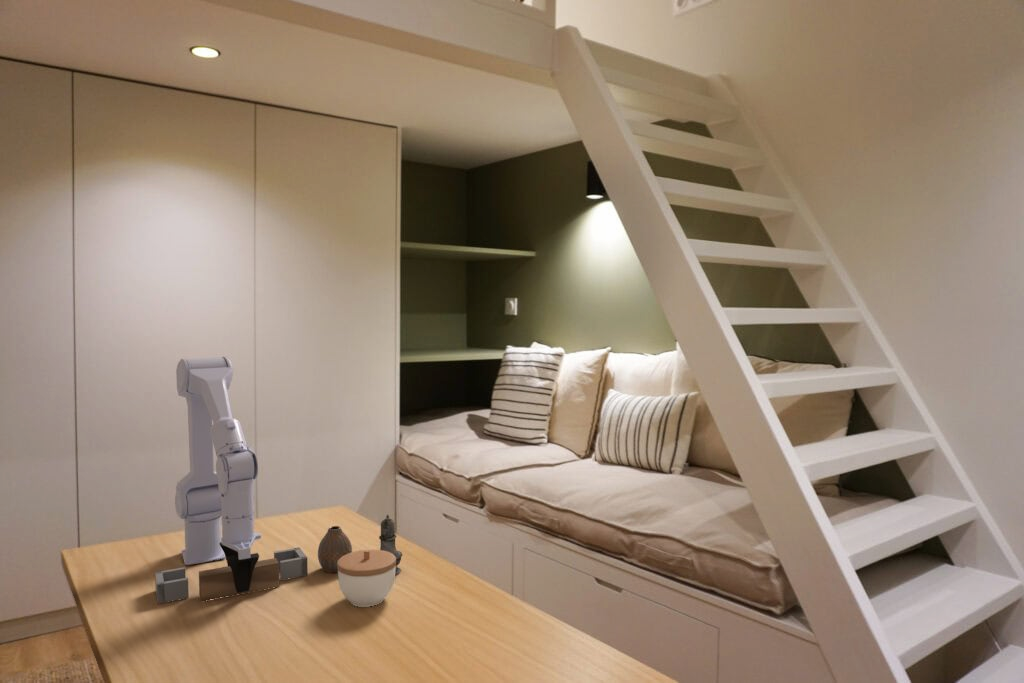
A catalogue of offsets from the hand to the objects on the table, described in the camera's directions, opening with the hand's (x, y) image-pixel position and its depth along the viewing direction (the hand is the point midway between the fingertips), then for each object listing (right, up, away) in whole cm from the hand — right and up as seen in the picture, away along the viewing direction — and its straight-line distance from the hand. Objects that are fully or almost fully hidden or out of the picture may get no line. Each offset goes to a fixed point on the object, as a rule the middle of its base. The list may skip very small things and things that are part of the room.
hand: (239, 584), depth 133 cm
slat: (0, -2, 0) cm, 2 cm away
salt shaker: (+27, -1, +10) cm, 28 cm away
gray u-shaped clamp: (-12, -2, -1) cm, 12 cm away
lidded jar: (+25, -2, -4) cm, 26 cm away
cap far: (+7, -1, +10) cm, 12 cm away
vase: (+15, -1, +11) cm, 19 cm away
